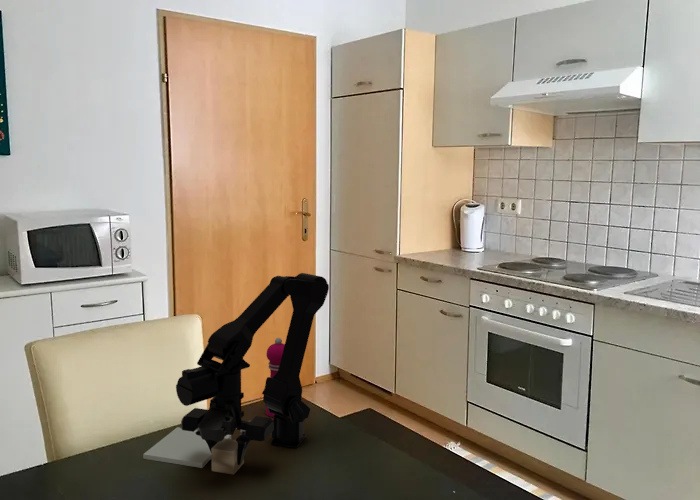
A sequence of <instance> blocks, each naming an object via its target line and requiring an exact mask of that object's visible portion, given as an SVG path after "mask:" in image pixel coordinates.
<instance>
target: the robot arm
mask: <svg viewBox="0 0 700 500" xmlns="http://www.w3.org/2000/svg"><path fill="white" fill-rule="evenodd" d="M329 285H330V284H328V281H327V279H326V278H325V277H324V276H320V275H315V274H310V273H307V272H306V273H305V272H301V273H298V274H297V275H296V276H290V275H286V276H285V275H284V276H283V275H276V276H273V277H272V278H271V279H270V281H269V283H268V285H267V286H266V287H264V289H263V290H262V292H260V293H259V294H258V295H257V297H255V298H254V300H253V301H252V302H251V303H250V304H249V305H248V306H247V307H246V308H245V309H244V310H243V312H241V313H240V314H239V316H238V317H236V318H235V319H234V320H232V321H229V322H227V323H225V324H223V325H222V326H220V327H219V328H218V329H217V330H215V331H214V332H213V333H212V334H211V335H210V336H209V337H208V340H207V345H206V346H205V348H204V350H203V351H202V354H201V355H200V357H199V359H198V361H197V362H196V364H197V366H198V367H195V368H188V369H184V370H182V371H181V376H180V377H179V378H178V380H177V383H176V385H175V390H176V391H175V392H176V395H177V398H178V399H179V402H180V403H181V404H182V405H183V406H186V407H188V406H191V405H194V404H198V403H200V402H203V401H206V400H209V399H210V402H209V408H208V409H207V408H205V409H204V408H199V407H194V408H193V409H191V410H190V411H189V412H188V413H186V414H185V415H184V416H183V417H182V418H181V422H180V424H181V425H180V426H181V427H180V428H181V429H182V430H185V431H192V432H194V431H195V430H197V432H196V435H198V436H201V438H202V439H203V440H205V441H206V443H207V444H208V447H209V449H210V451H211V448H212V447H213V446H214V445H215V444H217V443H218V442H220V441H222V440H223V439H224V438H225V436H226V435H231V436H233V435H234V432H235V431H236V430H237V431H239V432H240V435H238V437H236V438H235V440H236V441H237V443H238V452H237V462H238V465H240V464H241V463H242V460H243V458H244V457H245V455H246V453H247V450H248V447H249V445H250V443H251V442H252V441H255V442H265V441H266V439H267V438H268V437H269V436H271V441H270V444H271V445H274V446H280V447H286V448H294V449H297V448H298V447H299V446H300V445H301V444H302V442H303V441H304V439H305V438H306V437H307V435H306V433H304V421H305V420H306V419H309V415H310V412H311V408H310V407H309V406H308V405H307V404H306V403H305V402H303V401H302V395H303V386H302V381H301V379H300V373H301V370H302V366H303V362H304V358H305V354H306V349H307V345H308V343H309V337H310V334H311V329H312V325H313V320H314V318H315V314H316V313H317V312H318V311H319V310H320V309H322V308H323V306H324V304H325V301H326V298H327V296H328V294H329V288H330V286H329ZM288 297H290V301H291V305H292V306H291V307H292V314H291V319H290V322H289V327H288V330H287V335H286V337H285V343H284V344H285V346H284V350H283V354H282V358H281V362H280V366H279V369H278V372H277V373H276V374H275V375H274V376H273V377H272V378H270V376H268V377H266V379H265V385H264V389H263V391H262V393H261V395H263V398H262V399H263V403H264V405H265V407H266V406H267V407H268V410H269V413H272V414H275V415H274V417H273V419H272V417H267V416H258V415H256V416H254V417H253V418H252V419H251V420H242V418H243V417H244V416H245V411H244V410H242V399H244V397H245V395H244V392H242V370H244V369H247V368H248V369H249V368H250V367H251V364H250V363H249V362H247V361H246V360H245V359H244V357H245V356H246V354H247V352H248V351H249V350H250V348H251V346H252V345H253V341H254V335H255V334H256V333H257V332H258V330H260V328H261V327H262V326H263V325H264V324H265V323H266V322H267V320H269V318H270V317H271V316H272V315H273V314H274V313H275V312H276V311H277V310H278V309H279V308H280V306H281V305H282V304H283V302H285V300H286V299H287V298H288ZM214 358H215V359H218V360H221V361H222V362H219V361H217V360H214ZM244 459H245V458H244Z"/></svg>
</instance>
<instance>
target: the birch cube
mask: <svg viewBox="0 0 700 500" xmlns="http://www.w3.org/2000/svg"><path fill="white" fill-rule="evenodd" d="M237 452H238V443H237V441H236V439H233V438H231V439H226V438H224V439H223V440H222V441H220V442H218V443H217V444H215V445H214V446H213V447H212V448H211V457H212V459H211V472H216V473H223V474H229V475H235V474H236V473H237V472H238V470H240V468H241V467H242V466H243V465H244V463H245V458H243V460H242V463H241V464H240V465H238V462H237Z"/></svg>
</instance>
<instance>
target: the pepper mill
mask: <svg viewBox="0 0 700 500" xmlns="http://www.w3.org/2000/svg"><path fill="white" fill-rule="evenodd" d="M284 346H285V343H283V340H282V338H281V337H276V338H275V339H274V343H273V344H271V345H270V346H268V347H267V350H266V358H267V360H268V361H269V362H268V369H269V371H270V372H269V373H270V376H269V377H270V378H272V377H273V376H274V375H275V374H276V373H277V372H278V369H279V366H280V362H281V358H282V354H283V350H284ZM265 414H266V415H267V416H268V417H269V418H274V415H275V414H272V413H269V410H268V407H267V406H266V405H265Z"/></svg>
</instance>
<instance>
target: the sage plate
mask: <svg viewBox="0 0 700 500" xmlns="http://www.w3.org/2000/svg"><path fill="white" fill-rule="evenodd" d="M196 432H197V429H196V430H195V431H194V432H192V431H185V430H182V429H181V427H180V426H179V427H178V426H177V427H176V428H175V429H174V430H172V431H171V432H169V433H168V434H167V435H166V436H164V437H163V438H161V440H159V441H158V442H157V443H155V444H154V445H153V446H152V447H150V448H149V449H148V450H146V451H145V452H144V453H143V454H142V455H143V456H142V457H143V458H142V459H144V460H149V461H157V462H162V463H170V464H175V465H182V466H188V467H194V468H200V469H204V467H205V466H206V464H208V463H209V461H212V457H211V451H210V449H209V447H208V444H207V443H206V441H205V440H203V439H202V438H201V436H198V435H196ZM225 438H226V439H232V435H226V436H225Z"/></svg>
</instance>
